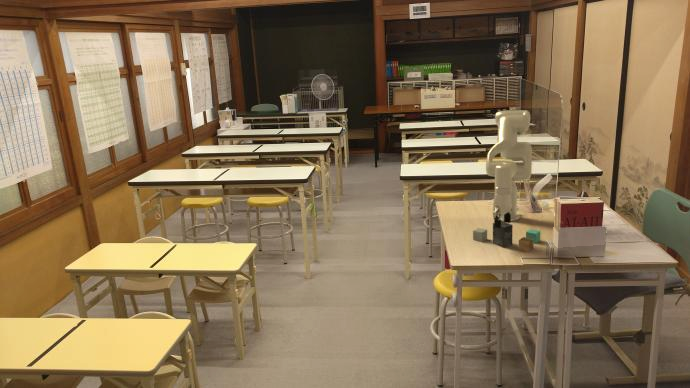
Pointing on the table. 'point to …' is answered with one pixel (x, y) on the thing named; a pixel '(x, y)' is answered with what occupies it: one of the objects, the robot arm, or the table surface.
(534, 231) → the teal cube
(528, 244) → the walnut cube
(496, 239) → the box
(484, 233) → the slate cube
